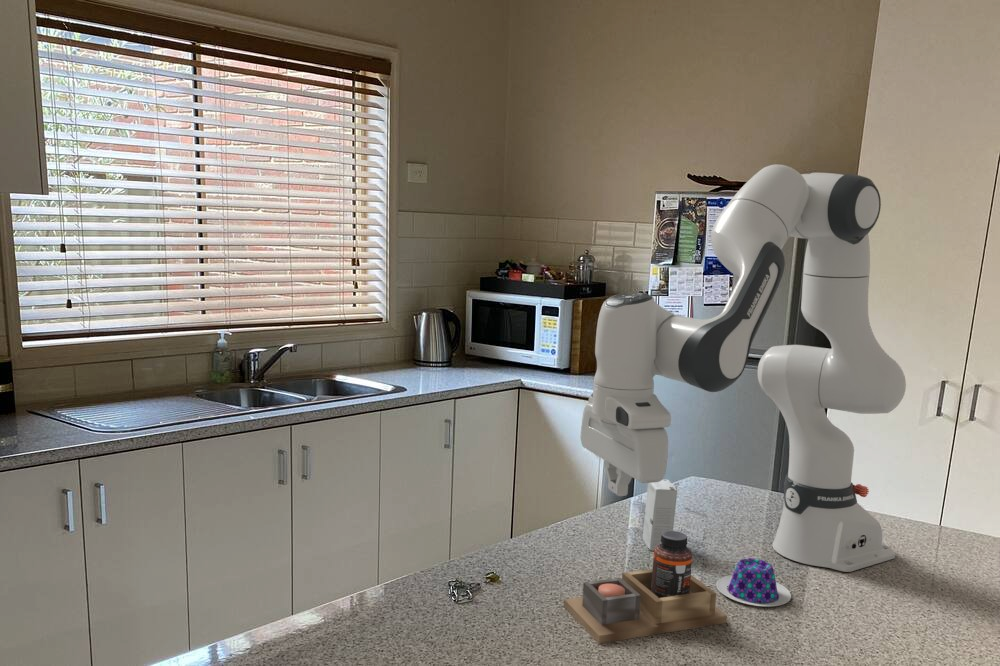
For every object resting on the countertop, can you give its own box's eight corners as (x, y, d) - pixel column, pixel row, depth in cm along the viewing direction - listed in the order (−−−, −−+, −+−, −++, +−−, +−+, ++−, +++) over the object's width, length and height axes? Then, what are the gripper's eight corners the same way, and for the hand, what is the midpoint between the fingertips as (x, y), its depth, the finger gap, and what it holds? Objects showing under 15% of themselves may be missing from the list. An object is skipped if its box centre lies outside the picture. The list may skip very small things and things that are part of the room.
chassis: (683, 589, 138) (685, 561, 138) (726, 622, 127) (728, 592, 127) (563, 606, 131) (565, 576, 130) (598, 643, 120) (600, 610, 119)
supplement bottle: (689, 614, 127) (694, 544, 125) (649, 609, 128) (654, 539, 127) (688, 597, 133) (693, 530, 131) (650, 593, 134) (655, 526, 132)
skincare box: (641, 538, 160) (645, 478, 158) (664, 539, 161) (668, 478, 159) (649, 551, 154) (654, 488, 152) (673, 551, 154) (677, 489, 153)
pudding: (780, 618, 130) (783, 586, 130) (706, 597, 137) (708, 566, 136) (798, 591, 140) (801, 561, 140) (728, 572, 147) (730, 544, 146)
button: (615, 602, 129) (617, 582, 129) (628, 613, 126) (629, 593, 125) (592, 605, 128) (594, 585, 127) (604, 617, 124) (606, 596, 124)
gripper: (572, 389, 131) (569, 473, 133) (638, 420, 112) (632, 518, 114) (608, 387, 133) (604, 470, 135) (678, 418, 114) (672, 514, 116)
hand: (617, 493), depth 124 cm, fingers closed
